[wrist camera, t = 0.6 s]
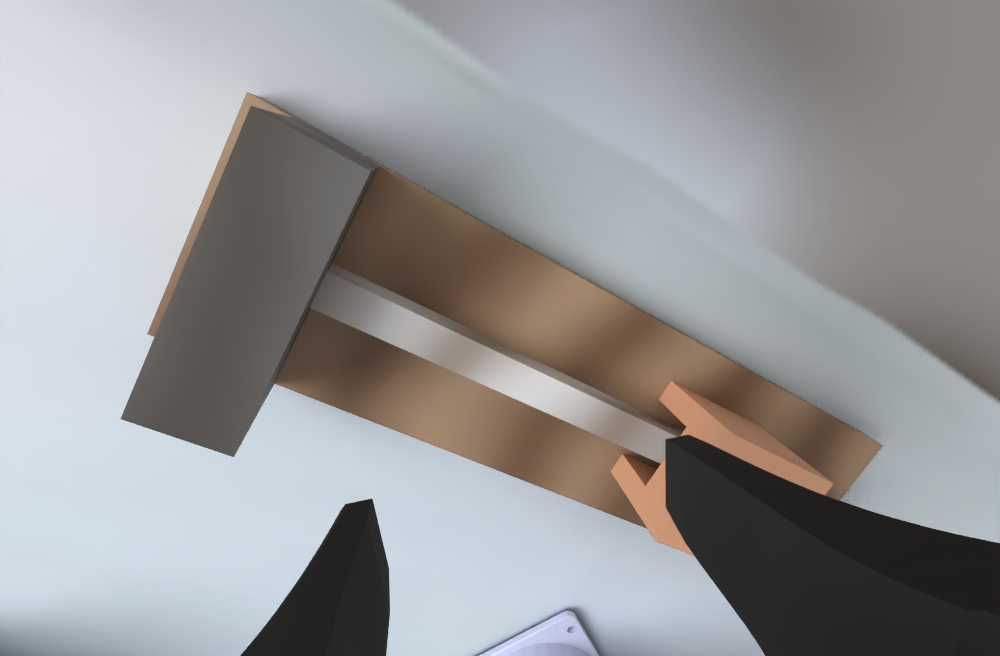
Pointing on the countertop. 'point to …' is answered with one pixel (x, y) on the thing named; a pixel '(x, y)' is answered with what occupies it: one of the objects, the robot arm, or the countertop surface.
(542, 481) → the rail board
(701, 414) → the slider block
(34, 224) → the countertop surface
